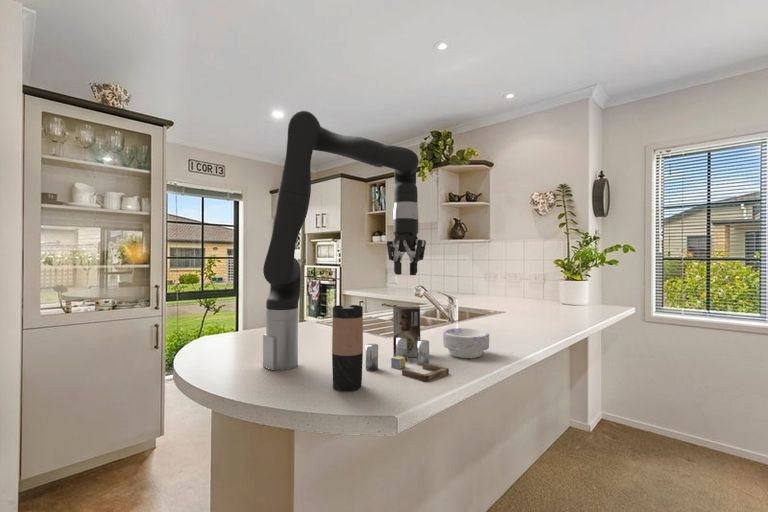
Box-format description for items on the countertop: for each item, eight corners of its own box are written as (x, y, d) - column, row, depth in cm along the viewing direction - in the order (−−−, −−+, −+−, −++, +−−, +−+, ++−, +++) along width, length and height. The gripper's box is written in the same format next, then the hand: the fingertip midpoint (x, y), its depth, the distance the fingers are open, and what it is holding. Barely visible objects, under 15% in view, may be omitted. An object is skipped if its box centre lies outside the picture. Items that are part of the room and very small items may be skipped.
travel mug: (350, 394, 88) (350, 309, 89) (325, 388, 92) (325, 307, 93) (368, 385, 95) (369, 306, 95) (344, 380, 99) (345, 304, 99)
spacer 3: (424, 366, 112) (424, 342, 112) (414, 364, 115) (414, 341, 115) (431, 364, 115) (431, 341, 115) (422, 361, 117) (422, 339, 118)
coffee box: (420, 353, 129) (420, 306, 129) (420, 357, 122) (420, 308, 123) (394, 352, 130) (394, 305, 130) (392, 357, 123) (392, 307, 124)
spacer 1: (371, 371, 107) (371, 347, 107) (363, 369, 109) (363, 345, 109) (380, 369, 109) (380, 345, 109) (372, 366, 112) (372, 343, 112)
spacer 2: (402, 361, 117) (402, 339, 117) (393, 359, 120) (393, 337, 120) (409, 359, 120) (409, 337, 120) (401, 357, 122) (401, 336, 122)
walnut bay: (426, 382, 98) (426, 376, 98) (402, 375, 104) (402, 369, 104) (448, 374, 105) (448, 368, 105) (424, 368, 111) (424, 362, 111)
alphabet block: (390, 367, 111) (391, 357, 111) (397, 365, 113) (397, 355, 114) (399, 369, 109) (399, 359, 109) (405, 367, 112) (405, 357, 112)
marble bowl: (486, 363, 116) (486, 337, 117) (438, 358, 122) (438, 334, 122) (491, 352, 131) (491, 329, 131) (447, 348, 136) (447, 326, 136)
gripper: (380, 219, 115) (379, 274, 115) (416, 215, 105) (415, 275, 105) (396, 221, 120) (396, 274, 120) (432, 217, 110) (432, 275, 110)
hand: (405, 274), depth 112 cm, fingers open, 5 cm apart
